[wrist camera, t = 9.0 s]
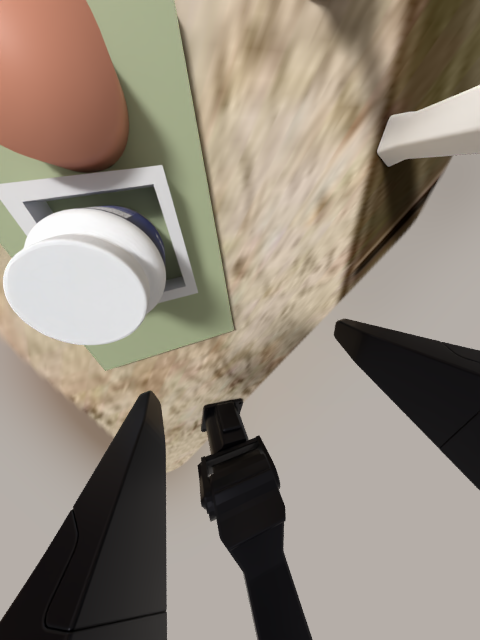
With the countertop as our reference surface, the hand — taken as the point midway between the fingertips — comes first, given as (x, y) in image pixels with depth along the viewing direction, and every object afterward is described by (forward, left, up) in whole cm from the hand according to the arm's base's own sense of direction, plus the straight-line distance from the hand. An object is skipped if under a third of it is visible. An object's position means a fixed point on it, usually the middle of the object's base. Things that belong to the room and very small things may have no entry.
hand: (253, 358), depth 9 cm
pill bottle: (+2, +6, -12) cm, 13 cm away
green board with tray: (+2, +6, -12) cm, 14 cm away
